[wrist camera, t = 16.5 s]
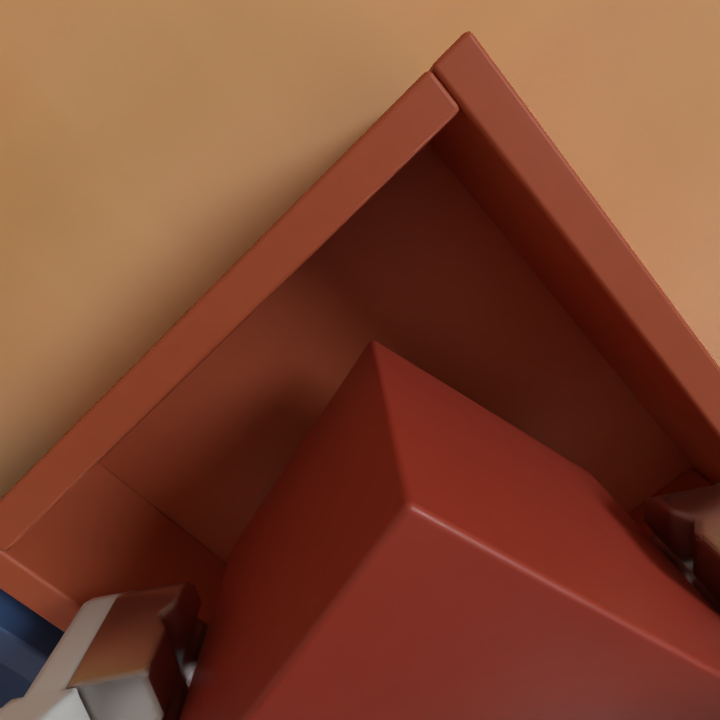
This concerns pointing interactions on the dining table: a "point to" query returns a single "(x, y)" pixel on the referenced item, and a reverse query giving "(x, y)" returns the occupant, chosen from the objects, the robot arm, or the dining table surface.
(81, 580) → the terracotta bin
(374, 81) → the dining table surface
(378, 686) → the red block
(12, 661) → the blue bin
